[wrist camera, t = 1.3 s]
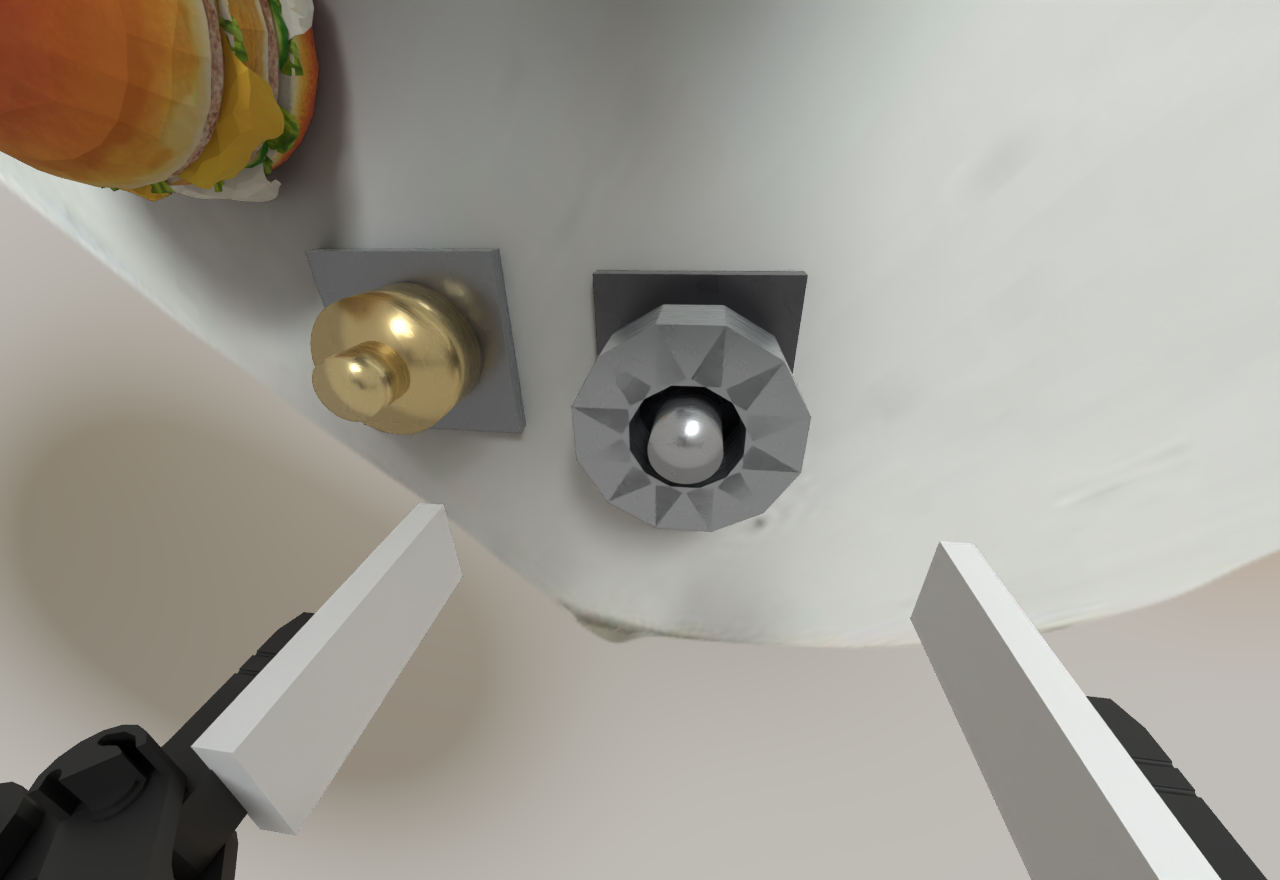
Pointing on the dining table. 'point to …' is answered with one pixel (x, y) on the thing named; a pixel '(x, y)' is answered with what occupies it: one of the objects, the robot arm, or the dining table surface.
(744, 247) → the dining table surface
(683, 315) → the grey faceted ring
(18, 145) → the burger
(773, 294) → the stand
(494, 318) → the hub
